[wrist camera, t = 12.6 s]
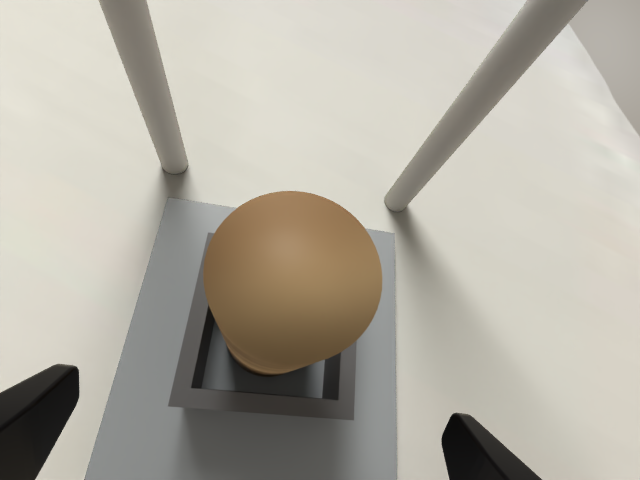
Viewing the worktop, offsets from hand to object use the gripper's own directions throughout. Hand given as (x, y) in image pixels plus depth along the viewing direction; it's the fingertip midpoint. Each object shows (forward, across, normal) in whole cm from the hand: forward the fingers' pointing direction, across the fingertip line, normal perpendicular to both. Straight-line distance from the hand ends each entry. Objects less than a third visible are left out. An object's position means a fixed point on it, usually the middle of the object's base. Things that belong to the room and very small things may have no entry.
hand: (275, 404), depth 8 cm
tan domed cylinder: (+9, 0, +5) cm, 10 cm away
